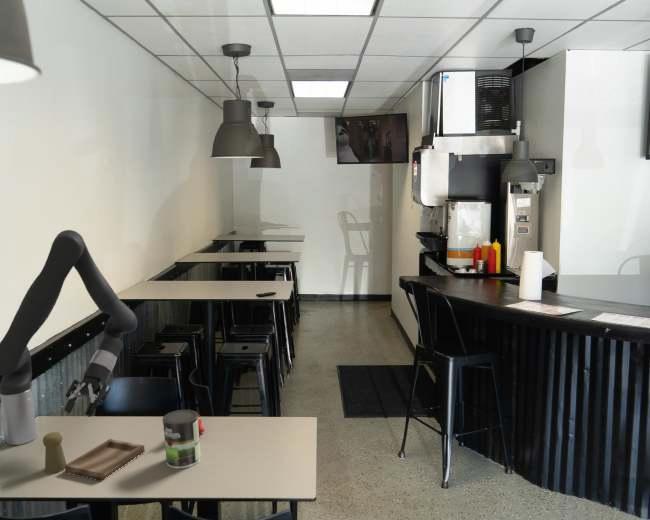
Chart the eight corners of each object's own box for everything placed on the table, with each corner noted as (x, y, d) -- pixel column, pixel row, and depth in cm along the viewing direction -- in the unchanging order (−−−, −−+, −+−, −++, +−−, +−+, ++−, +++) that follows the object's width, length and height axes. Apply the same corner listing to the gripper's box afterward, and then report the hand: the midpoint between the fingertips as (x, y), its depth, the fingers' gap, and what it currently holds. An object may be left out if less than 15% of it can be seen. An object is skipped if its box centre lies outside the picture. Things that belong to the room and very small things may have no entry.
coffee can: (184, 472, 171) (180, 426, 169) (159, 464, 176) (154, 419, 174) (208, 456, 179) (205, 412, 177) (184, 449, 185) (180, 407, 183)
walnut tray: (65, 473, 173) (64, 465, 173) (110, 446, 190) (109, 439, 189) (101, 481, 168) (101, 473, 167) (144, 452, 184) (144, 445, 184)
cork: (58, 474, 173) (54, 439, 171) (40, 473, 174) (36, 438, 172) (71, 464, 179) (67, 430, 177) (53, 463, 180) (49, 429, 178)
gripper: (77, 359, 192) (52, 406, 183) (110, 363, 186) (86, 412, 177) (91, 369, 197) (67, 415, 189) (124, 374, 192) (101, 421, 183)
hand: (77, 414), depth 183 cm, fingers open, 8 cm apart
